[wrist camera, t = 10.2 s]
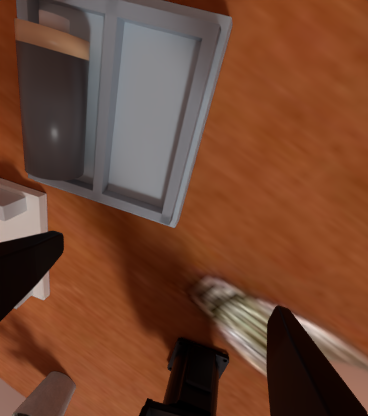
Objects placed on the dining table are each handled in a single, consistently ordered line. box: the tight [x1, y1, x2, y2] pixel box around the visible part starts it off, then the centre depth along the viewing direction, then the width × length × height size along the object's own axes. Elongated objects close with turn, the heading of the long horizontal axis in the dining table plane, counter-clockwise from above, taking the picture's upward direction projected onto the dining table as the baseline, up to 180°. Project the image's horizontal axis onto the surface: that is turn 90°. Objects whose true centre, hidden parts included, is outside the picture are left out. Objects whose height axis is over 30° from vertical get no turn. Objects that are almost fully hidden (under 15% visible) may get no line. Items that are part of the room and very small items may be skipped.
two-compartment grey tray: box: [16, 0, 232, 228], centre depth 18 cm, size 15×14×2 cm
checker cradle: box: [0, 178, 50, 309], centre depth 26 cm, size 15×8×4 cm, turn 166°
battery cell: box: [14, 10, 90, 181], centre depth 16 cm, size 10×4×4 cm, turn 166°
